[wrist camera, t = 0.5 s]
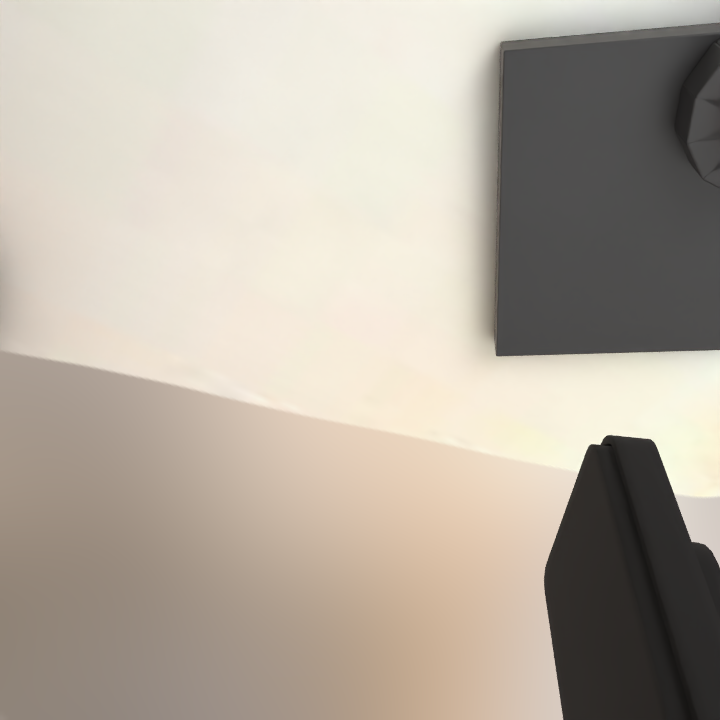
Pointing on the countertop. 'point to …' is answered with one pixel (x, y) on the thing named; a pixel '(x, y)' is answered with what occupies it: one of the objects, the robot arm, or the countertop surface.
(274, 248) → the countertop surface
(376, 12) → the countertop surface
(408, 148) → the countertop surface
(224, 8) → the countertop surface
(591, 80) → the scale
